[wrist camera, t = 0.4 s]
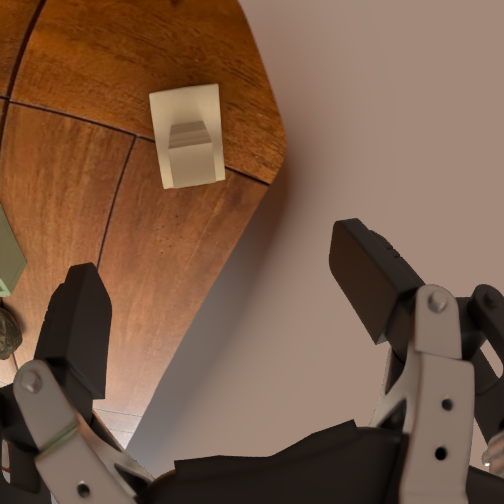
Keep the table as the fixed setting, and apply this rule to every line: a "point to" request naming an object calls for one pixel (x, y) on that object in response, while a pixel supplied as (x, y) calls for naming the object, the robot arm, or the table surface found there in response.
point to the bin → (9, 258)
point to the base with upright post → (188, 135)
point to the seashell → (8, 334)
